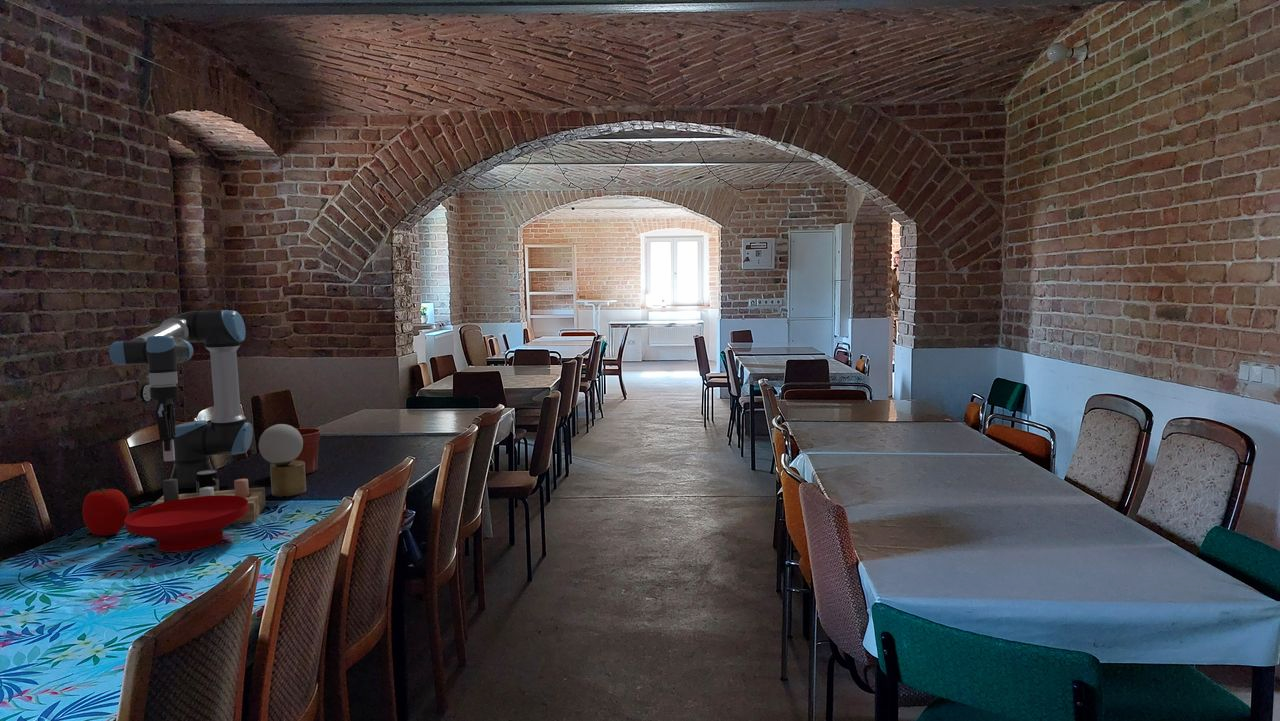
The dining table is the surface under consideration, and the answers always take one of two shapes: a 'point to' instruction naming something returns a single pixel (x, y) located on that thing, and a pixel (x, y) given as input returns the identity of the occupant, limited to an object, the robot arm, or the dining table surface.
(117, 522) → the tomato
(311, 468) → the flower pot
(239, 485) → the plug terracotta
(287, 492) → the lamp
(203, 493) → the plug grey
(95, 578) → the dining table surface
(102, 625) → the dining table surface
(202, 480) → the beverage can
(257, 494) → the plug board
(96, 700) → the dining table surface
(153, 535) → the bowl
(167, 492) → the plug black
